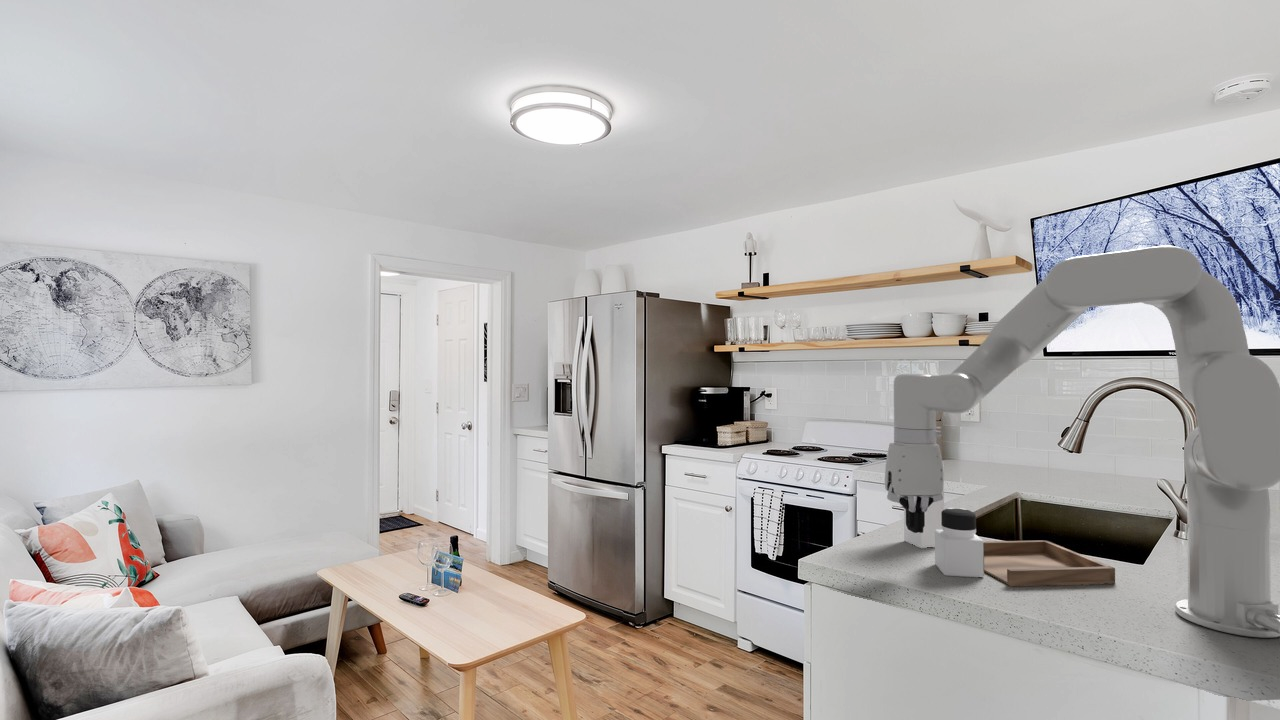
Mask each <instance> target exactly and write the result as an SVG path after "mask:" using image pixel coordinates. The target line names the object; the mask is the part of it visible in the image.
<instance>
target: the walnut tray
mask: <svg viewBox="0 0 1280 720" xmlns="http://www.w3.org/2000/svg"><path fill="white" fill-rule="evenodd" d="M985 572H986V573H985ZM984 573H985V574H987V573H988V574H990V575H992V576H993V578H994V577H995V578H994V579H996V578H997V579H996V580H998V579H999V580H1001V581H1002V582H1001V581H1000V582H1001V583H1003V582H1004V583H1003V584H1005V583H1006V584H1005V585H1007V584H1008V585H1010V586H1021V587H1039V586H1038V585H1057V586H1082V585H1081V584H1083V586H1085V585H1086V586H1087V585H1089V586H1090V584H1094V585H1101V584H1100V583H1109V584H1108V585H1111V584H1110V583H1115V584H1116V567H1113V566H1111V565H1108V564H1106V563H1103V562H1101V561H1099V560H1096V559H1094V558H1091V557H1089V556H1086V555H1083V554H1081V553H1078V552H1076V551H1073V550H1071V549H1069V548H1065V547H1064V546H1061V545H1059V544H1056V543H1054V542H1052V541H1049V540H1046V539H1041V540H1039V539H1038V540H1037V539H1036V540H1002V541H1001V540H999V541H996V540H994V541H984ZM988 574H987V575H988ZM990 575H989V576H990ZM992 576H991V577H992ZM999 580H998V581H999ZM1008 585H1007V586H1008ZM1010 586H1009V587H1010Z"/></svg>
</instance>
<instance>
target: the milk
mask: <svg viewBox="0 0 1280 720" xmlns="http://www.w3.org/2000/svg"><path fill="white" fill-rule="evenodd" d="M942 462H943V471H944V472H945V469H944V468H945V466H944V465H945V462H944V460H942ZM942 495H943V499H942V500H941V501H937V502H933V503H932V504H931V505H930V506H929V507H928V509H927V511H926V512H925V526H924V527H923V533H919V532H918V533H914V532H912V531H910V530H908V528H907V526H906V509H904V508H903V541H904V542H905V541H906V543H907V544H910V545H912V544H913V546H914V545H915V547H917V548H919V549H928V548H927V547H933V548H935V530H936V529H938V530H942V528H941V512H942V511H943V510H944V509H945V490H944V491H943V493H942ZM915 498H916V496H914V501H915Z"/></svg>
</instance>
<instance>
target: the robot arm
mask: <svg viewBox="0 0 1280 720" xmlns="http://www.w3.org/2000/svg"><path fill="white" fill-rule="evenodd" d="M1131 304H1144V305H1149V306H1154V307H1155V308H1157V309H1158V310H1159V311H1160V312H1162V313H1163V315H1164V316H1165V317H1166V319H1167V320H1168V323H1169V326H1170V329H1171V334H1172V339H1173V343H1174V347H1175V348H1174V349H1175V355H1176V356H1175V357H1176V362H1177V364H1176V365H1177V371H1178V383H1179V386H1178V387H1179V388H1180V389H1179V390H1180V393H1181V395H1182V396H1183V397H1184V399H1185V400H1187V402H1189V403H1190V404H1191V405H1193V406H1194V412H1195V413H1194V414H1195V419H1196V424H1197V426H1196V427H1195V428H1194V429H1193V430H1191V431H1190V433H1189V434H1188V435H1187V437H1186V440H1185V442H1184V446H1183V460H1184V461H1183V462H1184V470H1185V471H1184V472H1185V481H1186V494H1187V495H1186V496H1187V497H1186V499H1187V501H1186V503H1187V599H1186V598H1185V599H1180V600H1179V601H1176V602H1175V607H1174V608H1175V612H1176V613H1177V614H1178V616H1180V617H1182V618H1183V619H1184V620H1187V621H1189V622H1192V623H1193V624H1196V625H1199V626H1200V627H1201V626H1202V627H1205V628H1207V629H1211V630H1215V631H1219V632H1223V633H1227V634H1232V635H1236V636H1242V637H1243V636H1244V637H1249V638H1250V637H1251V638H1261V639H1263V638H1264V639H1265V638H1268V639H1270V638H1278V637H1280V614H1279V603H1276V602H1273V601H1272V600H1271V598H1272V597H1271V596H1272V595H1271V594H1272V593H1271V591H1272V590H1271V588H1272V587H1271V585H1272V584H1271V582H1272V581H1271V578H1272V577H1271V575H1272V574H1271V528H1272V527H1271V503H1270V502H1271V501H1270V494H1269V489H1270V488H1272V487H1274V486H1276V485H1278V483H1280V384H1279V380H1278V378H1277V377H1276V375H1275V373H1274V372H1273V370H1272V369H1271V367H1270V366H1269V365H1268V364H1267V363H1265V361H1263V360H1262V359H1259V358H1258V357H1256V356H1254V355H1252V354H1250V350H1249V346H1248V345H1249V344H1248V339H1247V335H1246V331H1245V326H1244V322H1243V318H1242V314H1241V311H1240V307H1239V305H1238V303H1237V301H1236V299H1235V297H1234V296H1233V294H1232V293H1231V291H1230V290H1229V289H1228V288H1227V287H1226V286H1225V285H1224V284H1223V283H1222V282H1221V280H1219V279H1217V278H1216V277H1214V276H1213V275H1212V274H1210V273H1209V272H1207V271H1205V270H1203V269H1202V266H1201V263H1200V261H1199V259H1198V258H1197V256H1195V255H1194V253H1192V252H1190V250H1187V249H1186V248H1183V247H1180V246H1174V245H1158V246H1152V247H1144V248H1142V247H1141V248H1137V249H1128V250H1122V251H1121V250H1120V251H1114V252H1105V253H1098V254H1097V253H1096V254H1089V255H1088V254H1087V255H1081V256H1074V257H1069V258H1066V259H1063V260H1061V261H1060V262H1058V263H1056V264H1055V265H1054V266H1053V267H1051V269H1050V270H1049V271H1048V274H1047V275H1046V276H1045V277H1044V278H1043V279H1042V280H1041V281H1040V282H1039V283H1038V284H1037V285H1036V286H1035V287H1034V288H1032V290H1030V292H1029V293H1028V294H1026V295H1025V296H1024V298H1022V299H1020V301H1019V302H1018V303H1017V304H1016V305H1015V306H1014V307H1013V308H1012V309H1011V310H1009V312H1007V313H1006V314H1005V315H1004V316H1003V317H1002V318H1000V320H999V321H997V322H996V324H995V325H994V326H993V328H992V329H991V330H990V332H989V333H988V335H987V337H986V338H985V339H984V340H983V342H981V343H980V345H979V346H978V347H977V348H976V349H975V350H974V351H973V352H972V353H971V354H970V355H969V356H968V357H967V358H966V359H965V360H964V361H963V362H962V363H961V364H959V365H958V366H957V367H956V368H955V369H954V370H953V371H952V372H951V373H949V374H948V373H947V374H940V375H939V374H938V375H930V374H928V373H902V374H898V375H896V376H895V377H894V380H893V442H889V445H888V449H887V453H886V461H885V470H884V488H885V491H887V496H886V499H887V500H888V501H890V502H894V503H897V504H900V505H901V507H902V508H903V510H904V509H906V526H907V528H908V530H910V531H912V532H914V533H918V532H919V533H923V527H924V526H925V512H926V511H927V509H928V507H929V506H930V505H931V504H932V503H933V502H937V501H941V500H942V499H943V495H942V493H943V491H944V492H945V470H944V471H943V462H944V461H943V456H942V453H941V449H940V445H939V444H937V441H938V440H937V439H939V438H942V436H943V432H942V431H941V430H937V419H936V418H937V413H936V412H942V413H947V414H956V415H959V414H960V415H961V414H965V413H968V412H970V411H971V410H973V409H974V408H975V407H976V406H977V405H978V404H980V402H981V401H982V400H983V399H984V398H986V397H987V395H989V394H990V393H991V392H992V391H994V389H996V387H998V386H999V385H1000V384H1001V383H1002V382H1003V381H1004V380H1005V379H1006V378H1008V377H1009V376H1011V374H1013V373H1014V372H1015V371H1016V370H1017V369H1019V368H1020V367H1021V366H1023V365H1024V364H1027V363H1028V362H1030V361H1031V360H1032V359H1033V358H1035V357H1036V356H1037V355H1038V354H1039V353H1040V352H1041V351H1043V350H1044V348H1046V347H1047V346H1048V345H1049V344H1050V343H1052V341H1054V340H1055V339H1056V338H1057V337H1058V336H1059V335H1060V334H1061V333H1063V332H1064V331H1065V330H1066V329H1067V328H1068V327H1069V326H1071V324H1073V323H1074V322H1075V321H1076V320H1077V319H1078V318H1080V317H1081V316H1082V315H1083V314H1084V313H1085V312H1086V311H1087V310H1089V308H1091V307H1106V306H1120V305H1131ZM942 461H943V462H942ZM914 496H916V498H915V501H914Z"/></svg>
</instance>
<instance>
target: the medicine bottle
mask: <svg viewBox="0 0 1280 720" xmlns="http://www.w3.org/2000/svg"><path fill="white" fill-rule="evenodd" d="M941 528H942V530H938V529H936V530H935V547H934V565H936V567H937V568H938V569H939V571H941V573H942V574H943V575H944V576H949V577H961V578H962V577H964V578H965V577H966V578H978V577H982V579H983V578H984V577H985V572H984V542H985V541H984V540H983V539H982V538H981V537H980V536H978V535H977V534H976V533H977V515H976V513H975V512H973V511H971V510H969V509H966V508H960V507H947V508H944V510H943V511H942V512H941Z"/></svg>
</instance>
